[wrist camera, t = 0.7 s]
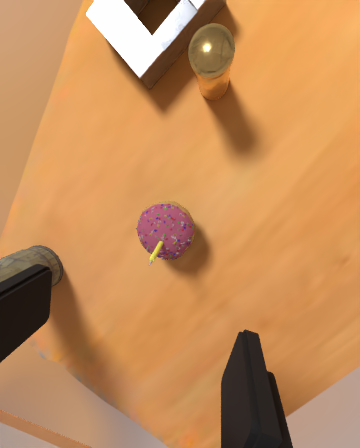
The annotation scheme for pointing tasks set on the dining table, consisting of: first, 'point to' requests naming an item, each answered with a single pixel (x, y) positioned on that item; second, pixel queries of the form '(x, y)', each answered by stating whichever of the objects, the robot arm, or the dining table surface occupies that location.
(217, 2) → the jig
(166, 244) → the cupcake
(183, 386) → the dining table surface
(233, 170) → the dining table surface
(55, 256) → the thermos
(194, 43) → the brass capped cylinder
